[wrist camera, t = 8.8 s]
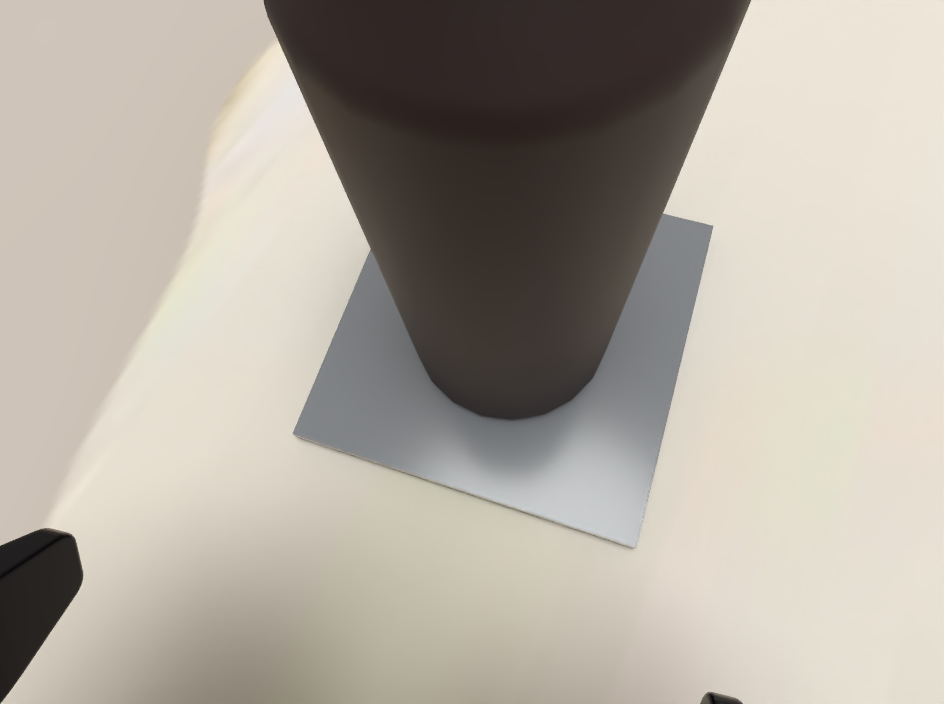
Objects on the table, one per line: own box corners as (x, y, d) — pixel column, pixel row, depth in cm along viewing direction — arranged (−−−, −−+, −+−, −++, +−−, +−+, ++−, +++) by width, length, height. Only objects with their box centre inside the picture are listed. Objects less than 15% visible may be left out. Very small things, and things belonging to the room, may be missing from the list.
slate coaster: (632, 548, 20) (636, 547, 20) (298, 437, 22) (292, 433, 22) (708, 234, 24) (713, 225, 23) (413, 161, 26) (411, 152, 25)
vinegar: (637, 386, 22) (1500, -916, 3) (448, 449, 21) (-71, -517, 2) (565, 222, 24) (762, -1110, 5) (394, 278, 23) (-96, -920, 5)
